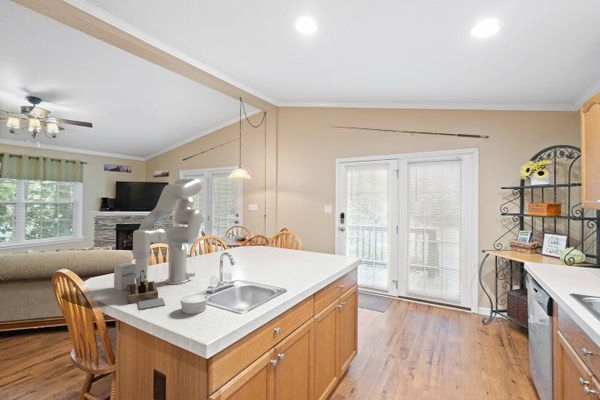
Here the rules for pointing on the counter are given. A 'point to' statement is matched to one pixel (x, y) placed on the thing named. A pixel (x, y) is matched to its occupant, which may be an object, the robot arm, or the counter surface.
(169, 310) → the counter surface
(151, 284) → the box frame
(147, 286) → the block
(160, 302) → the mat
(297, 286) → the counter surface
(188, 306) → the ramekin
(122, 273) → the supplement box
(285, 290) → the counter surface
